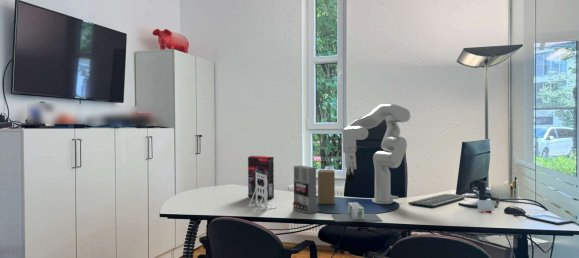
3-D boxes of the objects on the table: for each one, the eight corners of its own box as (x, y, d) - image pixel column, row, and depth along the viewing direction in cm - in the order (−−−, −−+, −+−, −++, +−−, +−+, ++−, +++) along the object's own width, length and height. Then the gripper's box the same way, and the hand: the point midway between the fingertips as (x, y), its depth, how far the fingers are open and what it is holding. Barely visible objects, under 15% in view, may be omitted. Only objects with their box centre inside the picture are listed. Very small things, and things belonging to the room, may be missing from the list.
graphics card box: (247, 197, 264) (247, 156, 263) (253, 195, 270) (253, 155, 269) (268, 200, 255) (268, 157, 254) (274, 198, 261) (274, 156, 260)
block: (334, 201, 250) (334, 169, 249) (334, 204, 240) (334, 171, 239) (318, 200, 251) (318, 169, 250) (318, 204, 241) (317, 171, 240)
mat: (375, 214, 216) (375, 213, 216) (382, 221, 202) (382, 220, 202) (331, 215, 215) (331, 214, 215) (335, 221, 202) (335, 221, 202)
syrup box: (357, 212, 219) (364, 219, 205) (347, 212, 219) (353, 219, 204) (357, 202, 219) (364, 208, 205) (347, 202, 219) (353, 208, 204)
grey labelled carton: (292, 209, 229) (292, 166, 228) (300, 207, 232) (300, 165, 231) (308, 214, 218) (307, 168, 217) (316, 212, 221) (316, 167, 220)
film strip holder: (278, 208, 232) (278, 174, 231) (257, 211, 224) (257, 176, 224) (267, 203, 244) (267, 171, 243) (246, 206, 237) (246, 173, 236)
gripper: (358, 150, 220) (360, 183, 221) (353, 147, 234) (354, 178, 236) (345, 151, 219) (346, 184, 220) (340, 148, 234) (341, 179, 235)
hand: (350, 181), depth 228 cm, fingers closed
